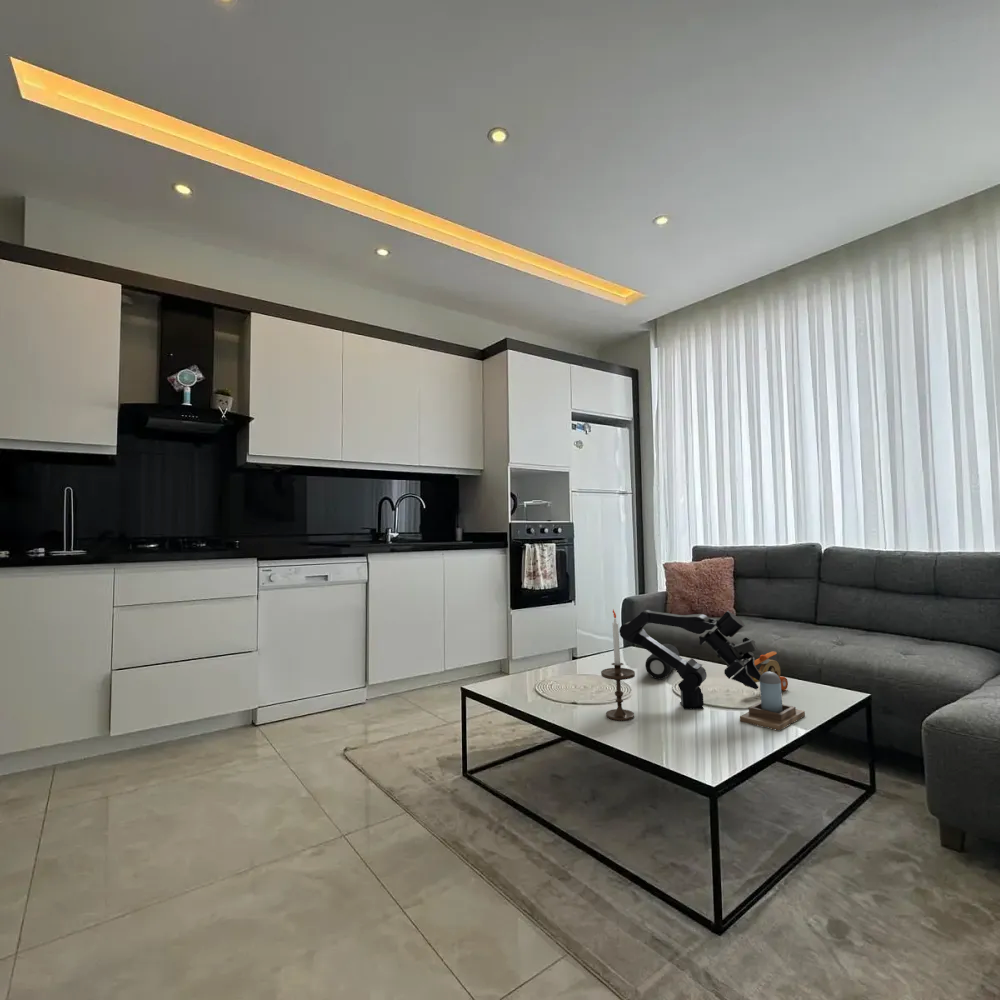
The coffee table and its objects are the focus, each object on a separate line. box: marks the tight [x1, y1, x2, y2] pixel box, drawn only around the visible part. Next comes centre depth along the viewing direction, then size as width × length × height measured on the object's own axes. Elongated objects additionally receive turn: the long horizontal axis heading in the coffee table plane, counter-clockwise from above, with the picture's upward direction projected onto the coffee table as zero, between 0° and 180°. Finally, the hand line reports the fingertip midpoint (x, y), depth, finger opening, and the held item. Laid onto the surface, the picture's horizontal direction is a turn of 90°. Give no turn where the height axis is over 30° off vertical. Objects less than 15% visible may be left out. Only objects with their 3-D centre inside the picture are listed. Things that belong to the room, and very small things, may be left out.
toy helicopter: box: [743, 650, 789, 692], centre depth 201 cm, size 8×21×14 cm, turn 122°
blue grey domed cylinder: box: [759, 671, 783, 713], centre depth 175 cm, size 6×6×13 cm
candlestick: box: [600, 608, 636, 722], centre depth 183 cm, size 11×11×35 cm
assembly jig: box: [739, 701, 806, 731], centre depth 175 cm, size 18×12×4 cm, turn 129°
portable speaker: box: [645, 643, 681, 680], centre depth 233 cm, size 26×10×10 cm, turn 152°
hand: (760, 684), depth 177 cm, fingers open, 9 cm apart
